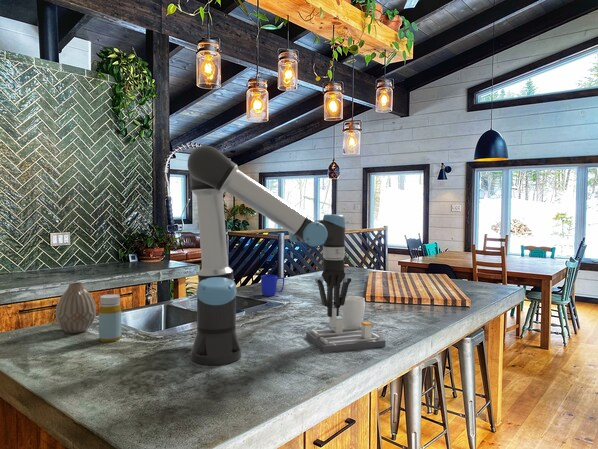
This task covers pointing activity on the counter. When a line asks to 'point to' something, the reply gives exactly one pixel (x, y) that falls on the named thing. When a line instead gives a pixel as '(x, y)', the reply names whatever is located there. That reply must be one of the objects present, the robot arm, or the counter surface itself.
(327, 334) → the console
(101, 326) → the bottle
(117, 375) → the counter surface
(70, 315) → the vase
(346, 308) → the cup
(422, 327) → the counter surface
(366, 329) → the fader
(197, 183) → the robot arm
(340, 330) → the block
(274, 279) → the mug
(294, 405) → the counter surface
